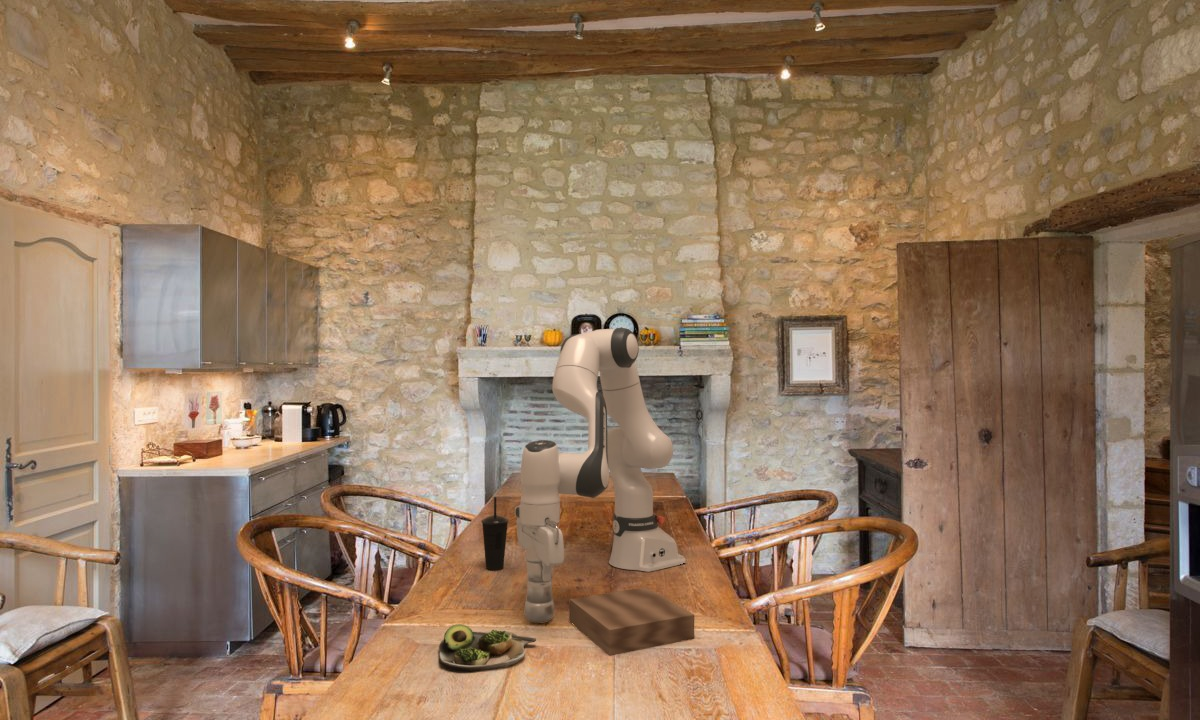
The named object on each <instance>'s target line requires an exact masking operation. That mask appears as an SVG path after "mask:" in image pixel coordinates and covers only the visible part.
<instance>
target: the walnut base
mask: <svg viewBox="0 0 1200 720" xmlns="http://www.w3.org/2000/svg"><path fill="white" fill-rule="evenodd" d="M568 602H569V611H568V612H569V614H568V615H569V618H568V622H569V621H570V622H569V623H571V624H572V623H573V624H574V625H575V626H576V627H577V628H576V629H577V630H579V631H580V632H581V633H582V634H584V635H585V636H586V637H587V638H588V639H589V640H591V641H592V642H593V643H594V644H596V645H597V646H598V648H600V649H601V650H602V651H603V652H605V653H606V654H607V655H608V656H613V655H617V654H619V655H620V654H622V653H627V652H634V651H639V650H643V649H649V648H652V647H653V648H654V647H658V646H663V645H668V644H669V645H670V644H674V643H679V642H683V641H689V640H694V639H695V613H693V612H691V611H689V610H687V609H685V608H683V606H680V605H678V604H676V603H675V602H674V601H672V600H670V599H669V598H667V597H665V596H663V595H661V594H660V593H658V592H656V591H655V590H653V589H651V588H649V587H648V586H645V587H640V588H633V589H627V590H620V591H613V592H605V593H600V594H594V595H588V596H581V597H574V598H569V601H568ZM573 624H572V625H573ZM574 625H573V626H574ZM575 626H574V627H575Z"/></svg>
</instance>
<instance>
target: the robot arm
mask: <svg viewBox="0 0 1200 720" xmlns="http://www.w3.org/2000/svg"><path fill="white" fill-rule="evenodd" d="M639 347H640V346H639V342H638V339H637V336H636V334H635V333H634V331H632V330H631V329H629V328H624V327H616V328H606V329H605V328H604V329H603V328H600V329H595V330H592V331H587V332H583V333H575V334H572V335H569V336H567V337H566V338H564V340H563V342H562V344H561V345H560V354H559V356H558V359H557V362H556V365H555V369H554V370H555V371H554V374H553V378H552V393H553V395H554V398H555V399H556V401H557V402H558V403H559V404H560V405H561V406H562V407H564V408H565V409H566V410H568V411H570V412H573V413H574V414H577V415H580V416H581V417H584V418H585V419H586V420H587V422H588V425H587V427H588V433H587V434H588V438H587V439H588V440H587V441H588V443H587V444H588V446H587V447H588V448H587V450H586V451H585V452H581V453H579V452H578V453H577V452H564V451H560V450H559V448H558V444H557V443H556V442H555V441H552V440H548V439H547V440H545V439H543V440H542V439H541V440H534V441H530V442H529V443H527V444H525V446H524V447H523V452H522V457H521V463H520V464H521V465H520V484H521V497H520V504H519V505H517V506H515V508H514V516H515V517H516V538H517V542H518V546H519V547H521V549H523V550H525V551H526V552H527V550H528V548H529V547H530V545H531V544H533V546H534V549H535V553H536V557H537V559H539V560H540V561H542V566H543V571H542V572H541V579H542V580H543V581H544V582H546V581H550V580H551V572H552V569H553V570H554V567H557V566H562V565H563V563H564V561H565V550H564V549H565V547H564V536H563V532H562V530H561V529H560V528H559V527H558V523H560V522H561V521H560V520H561V500H560V499H561V498H560V495H559V494H561V495H572V496H574V495H575V496H579V497H583V498H584V497H585V498H590V499H591V498H592V499H595V498H597V497H599V496H600V495H601V494H602V493H603V492H604V491H606V489H608V486H609V480H610V476H611V478H612V483H613V488H614V489H613V491H614V513H613V519H612V522H613V525H612V528H613V529H612V530H613V542H612V549H611V554H610V556H609V560H608V563H609V565H611V566H612V567H614V568H618V569H623V570H630V571H632V570H633V571H640V572H641V571H642V572H647V573H649V572H655V571H657V570H662V569H666V568H668V569H669V568H673V567H675V566H680V564H681V565H684V564H683V563H685V564H686V563H687V562H686V561H687V560H686V558H685V556H683V555H681V554H680V553H679V552H678V545H677V542H676V540H675V538H673V537H672V536H671V535H670V534H668V533H667V532H665V530H663V529H662V528H661V527H660V526H659V524H661V525H664V524H665V522H666V518H665V517H664V516H661V515H656V514H654V491H653V490H654V489H653V486H652V484H651V483H650V482H649V481H648V480H647V479H646V477H645V475H644V474H643V472H642V469H645V470H646V469H647V470H654V469H663V468H665V467H667V466H668V465H669V463H670V462H671V460H672V458H673V455H674V446H673V445H674V444H673V443H672V440H671V438H670V437H669V436H668V435H667V434H665V432H663V431H662V430H661V429H660V427H658V426H657V425H658V424H656V423H655V421H654V420H653V418H652V415H651V414H650V412H649V410H648V407H647V405H646V402H645V397H644V394H643V389H642V386H641V381H640V376H639V371H638V369H637V366H636V363H635V362H636V360H637V358H638V355H639ZM598 378H600V385H601V390H602V393H600V392H599V391H598ZM608 416H609V417H610V419H612V421H615V422H616V424H617V425H618V427H612V428H609V429H608ZM532 532H533V533H535V539H534V541H532V540H531V538H532Z"/></svg>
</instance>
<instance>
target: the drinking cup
mask: <svg viewBox="0 0 1200 720" xmlns="http://www.w3.org/2000/svg"><path fill="white" fill-rule="evenodd" d="M509 522H510V519H509V518H507V517H505V516H503V515H498V514H497V496H494V497H493V515H489V516H487V517H485V518H482V519H481V524H482V535H483V546H484V547H483V548H484V549H483V551H484V559H485V560H484V561H485V569H486V571H489V570H490V571H489V572H499V571H502V570H503V569H504V564H505V556H506V554H505V553H506V544H507V535H508V534H507V533H508V523H509Z"/></svg>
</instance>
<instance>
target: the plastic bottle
mask: <svg viewBox="0 0 1200 720" xmlns="http://www.w3.org/2000/svg"><path fill="white" fill-rule="evenodd" d="M534 539H535V533H533V532H532V538H531V540H532V541H534ZM525 564H526V574H527V575H526V577H527V588H526V590H527V591H526V598H525V603H524V608H523V609H524V610H523V611H524V617H525V619H526V620H527V621H528V622H531V623H536V624H541V623H546V622H547V623H548V622H550V621H551V620H552V618H553V617H554V612H555V602H554V599H553V584H552V583H553V573H554V571H553V570H554V568H553V569H552V572H551V580H550V581H546V582H544V581H543V580H542V579H541V572H542V571H543V566H542V561H540V560H539V559H537V557H536V553H535V549H534V546H533V544H531V545H530V547H529V548H528V550H527V551H526V552H525Z"/></svg>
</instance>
